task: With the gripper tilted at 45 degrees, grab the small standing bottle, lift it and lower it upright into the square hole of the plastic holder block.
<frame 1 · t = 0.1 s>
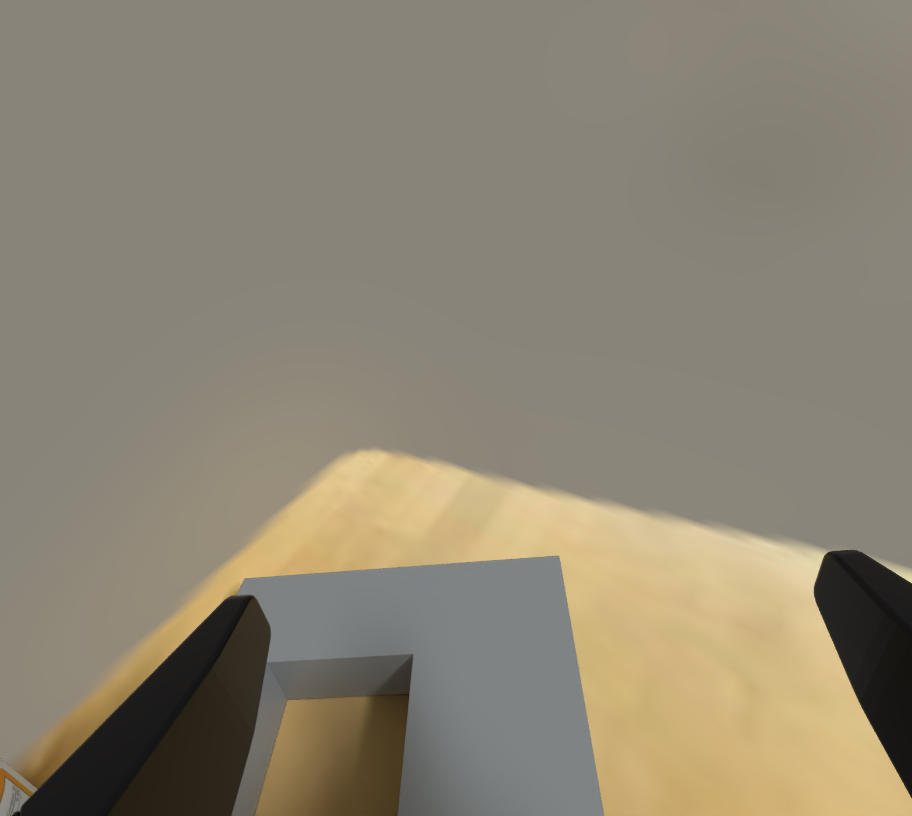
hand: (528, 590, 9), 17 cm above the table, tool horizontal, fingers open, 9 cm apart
holder: (341, 775, 22), on the table
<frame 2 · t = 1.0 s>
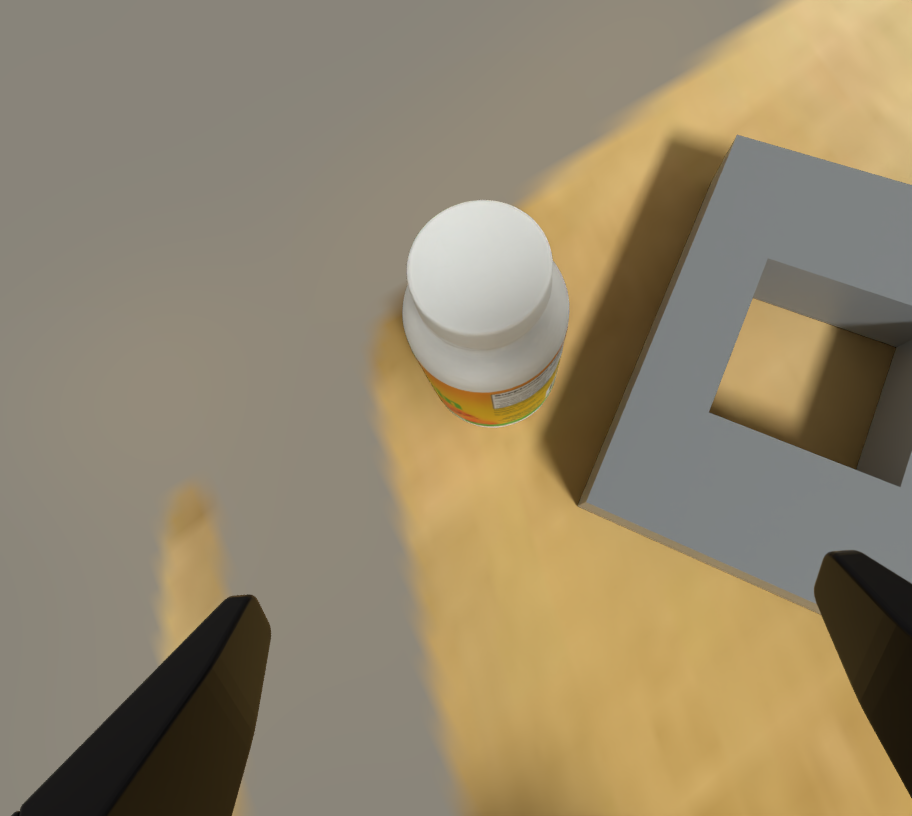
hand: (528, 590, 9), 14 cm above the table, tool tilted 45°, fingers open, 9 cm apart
holder: (789, 387, 22), on the table
supplement bottle: (494, 371, 24), on the table
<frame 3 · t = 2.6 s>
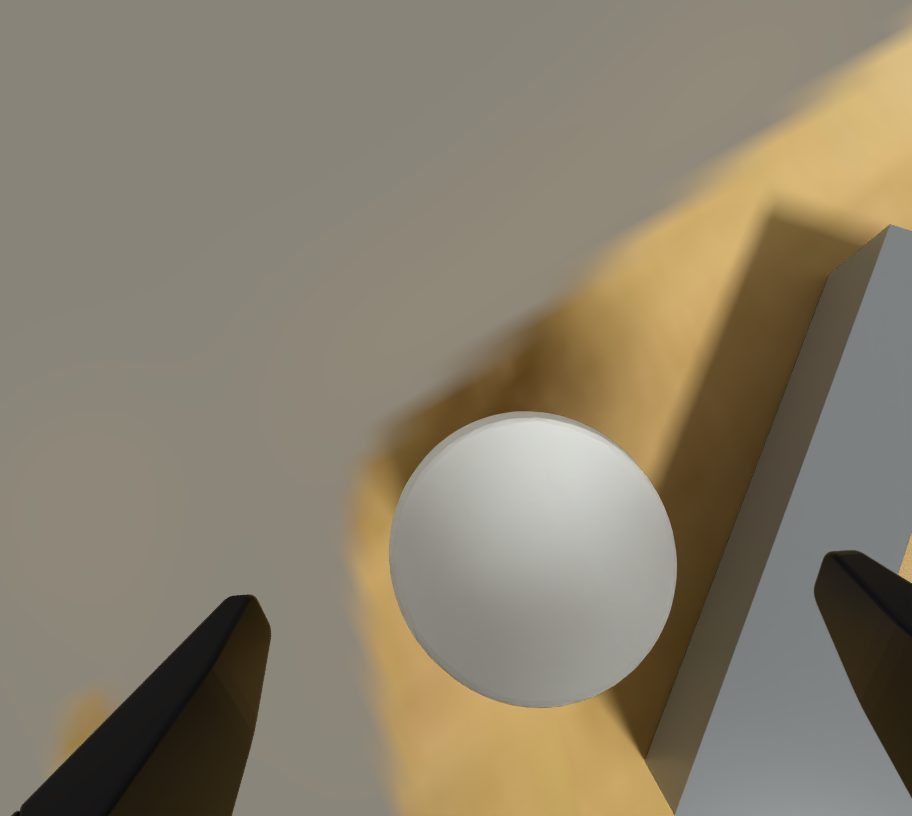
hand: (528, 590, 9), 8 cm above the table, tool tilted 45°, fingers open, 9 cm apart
supplement bottle: (522, 541, 17), on the table
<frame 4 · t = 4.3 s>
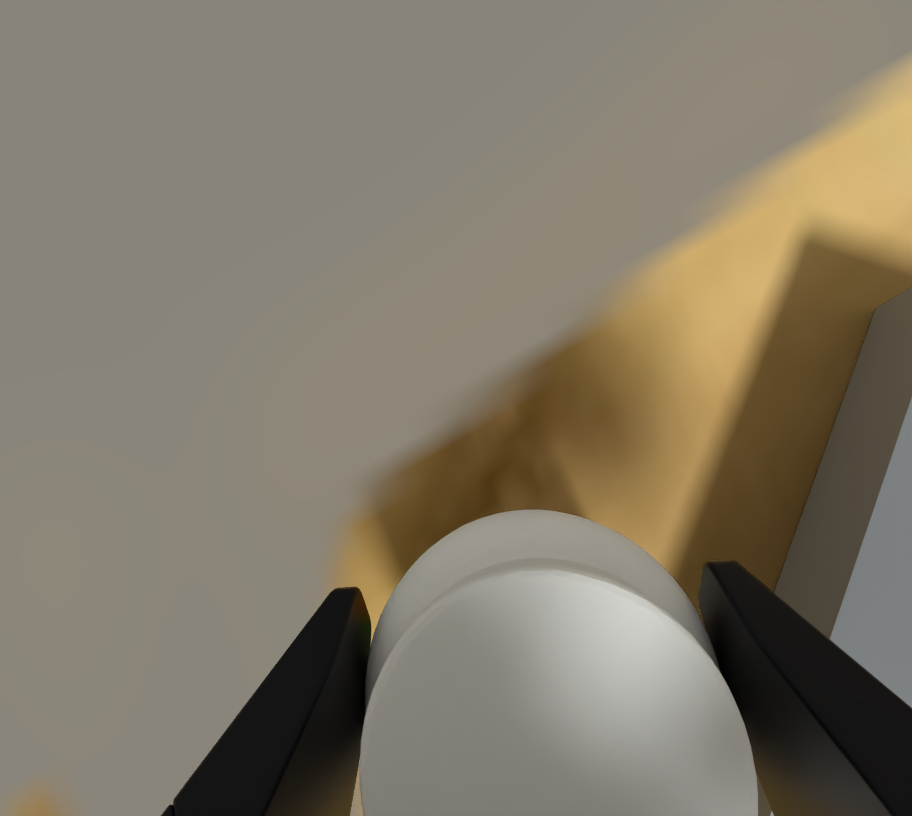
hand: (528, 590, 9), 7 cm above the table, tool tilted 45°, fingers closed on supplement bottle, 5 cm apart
supplement bottle: (527, 615, 15), on the table, touching gripper
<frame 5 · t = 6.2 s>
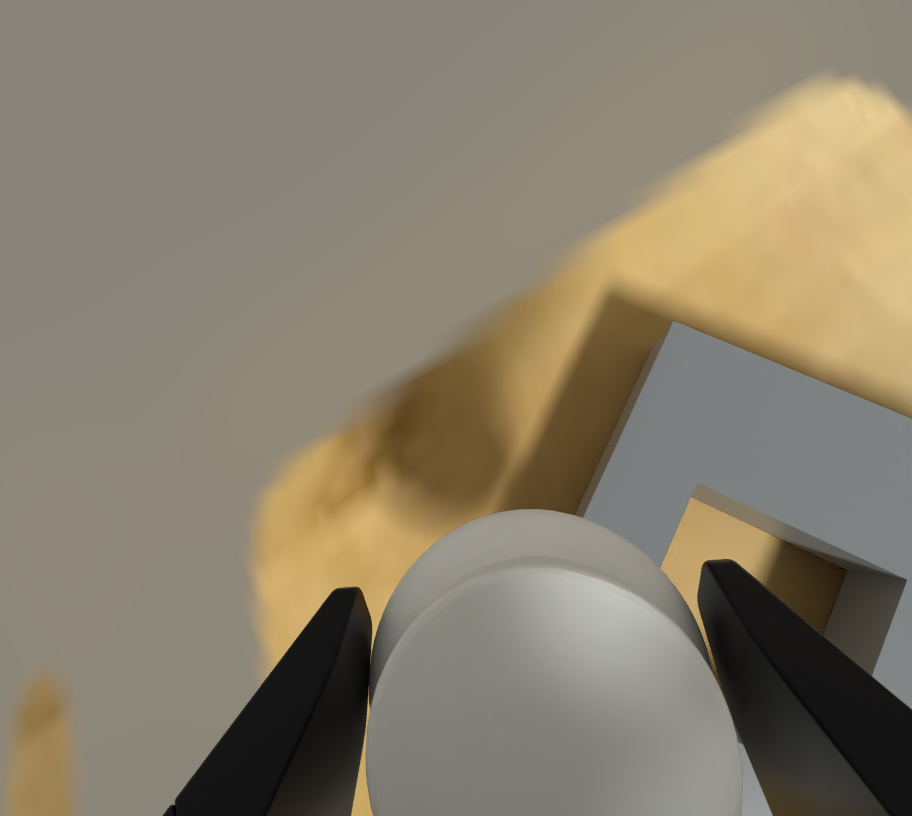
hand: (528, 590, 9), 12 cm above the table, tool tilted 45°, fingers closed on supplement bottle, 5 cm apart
holder: (722, 611, 19), on the table
supplement bottle: (526, 611, 15), point 5 cm above the table, touching gripper
when the fingers open (8 cm above the table, at t = 8.5 s): supplement bottle stays where it is, resting in holder.
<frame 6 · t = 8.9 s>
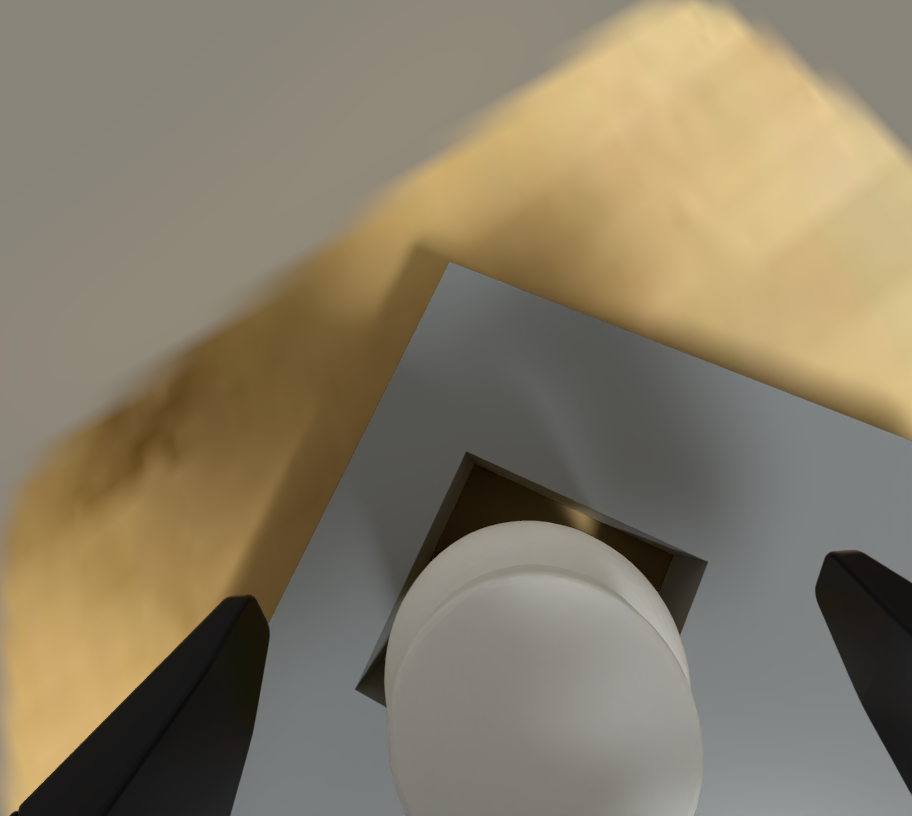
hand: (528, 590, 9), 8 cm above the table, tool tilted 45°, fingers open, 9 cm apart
holder: (527, 608, 16), on the table
supplement bottle: (525, 613, 16), resting in holder
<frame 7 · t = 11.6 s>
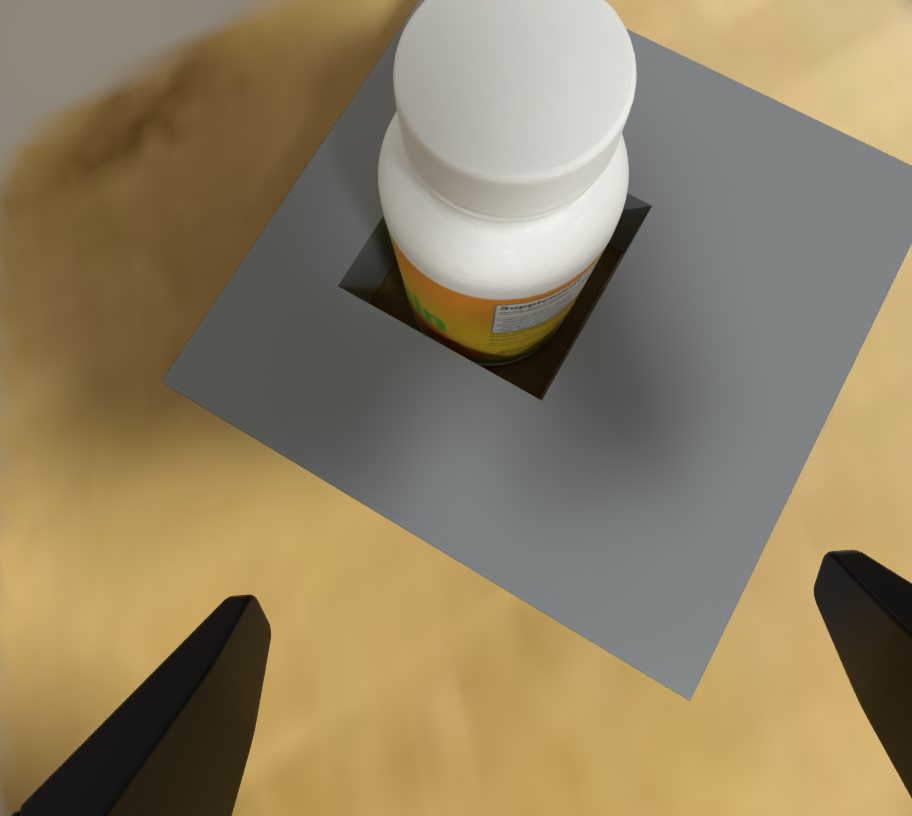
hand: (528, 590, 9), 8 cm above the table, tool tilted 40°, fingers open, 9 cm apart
holder: (491, 286, 18), on the table
supplement bottle: (488, 293, 19), resting in holder
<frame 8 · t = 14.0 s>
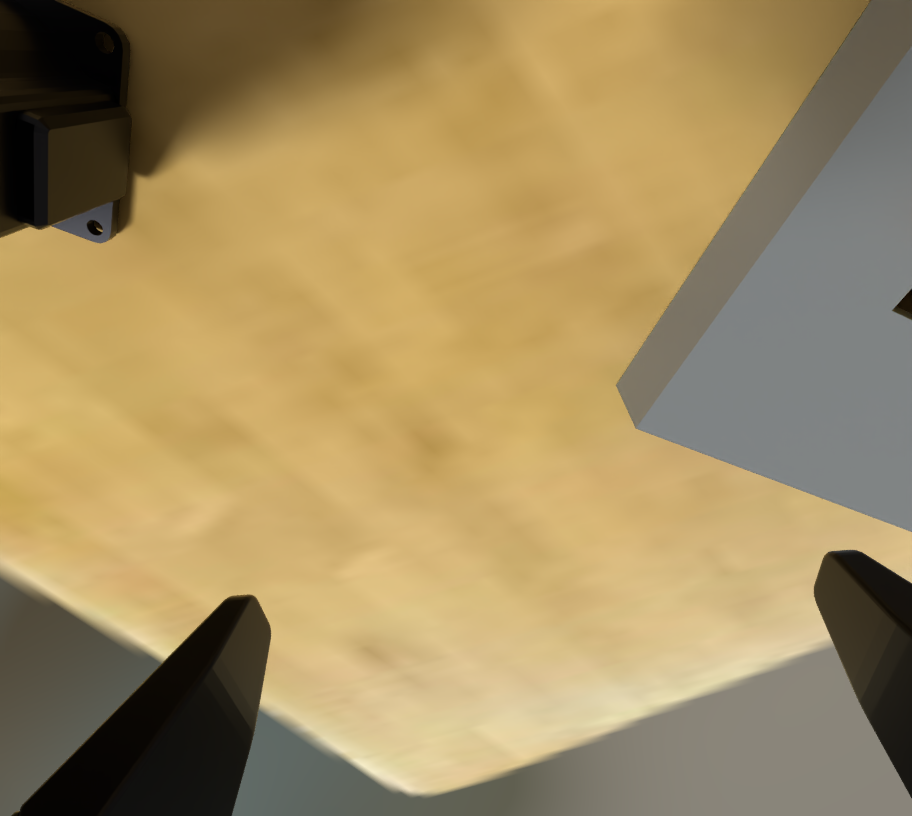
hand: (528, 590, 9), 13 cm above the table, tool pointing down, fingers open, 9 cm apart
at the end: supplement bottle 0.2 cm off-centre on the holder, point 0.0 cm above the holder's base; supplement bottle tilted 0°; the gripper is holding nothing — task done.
